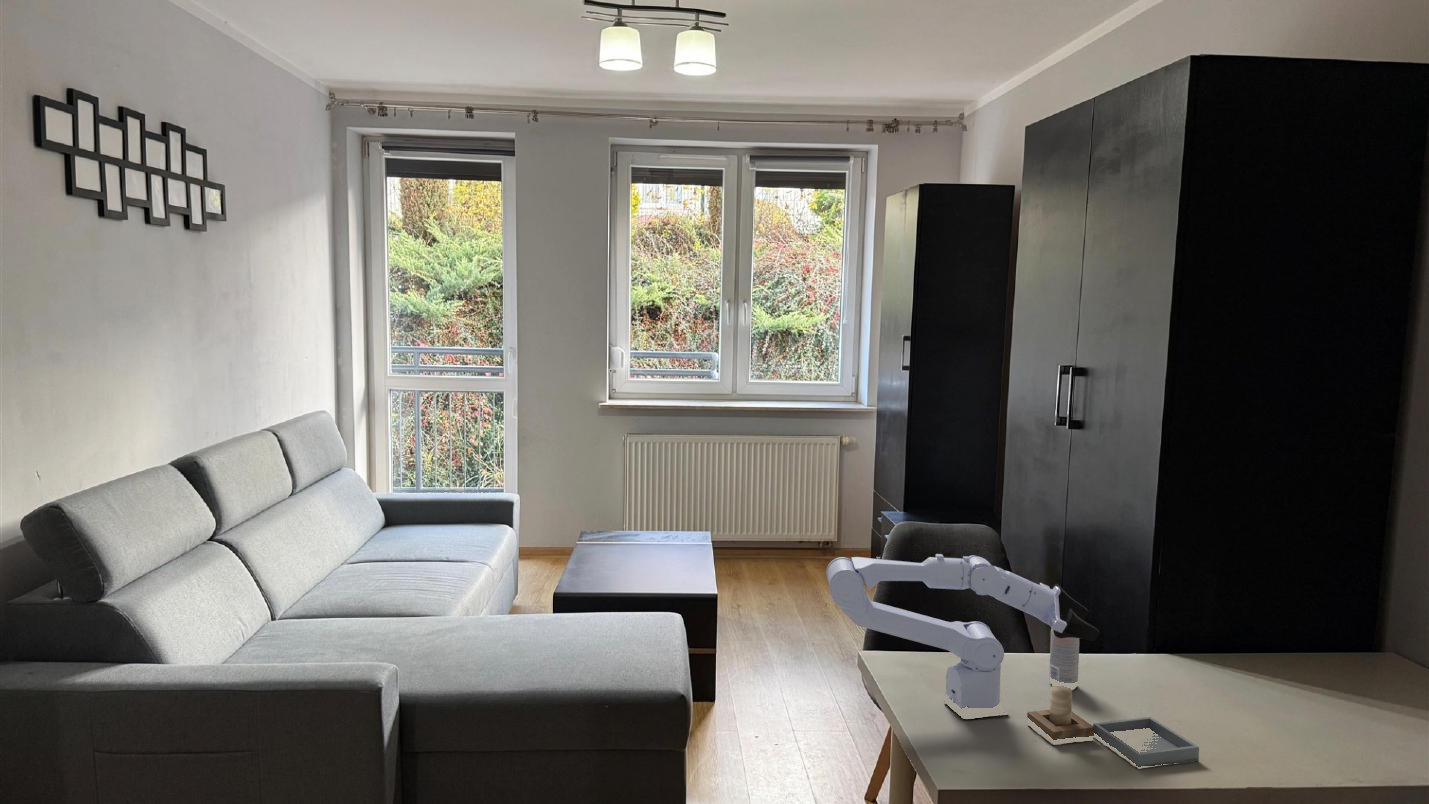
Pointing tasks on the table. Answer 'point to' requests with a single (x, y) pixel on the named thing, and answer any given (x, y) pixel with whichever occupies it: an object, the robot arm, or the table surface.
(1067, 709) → the dowel
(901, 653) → the table surface
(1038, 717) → the frame
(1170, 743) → the tray
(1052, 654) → the energy drink
